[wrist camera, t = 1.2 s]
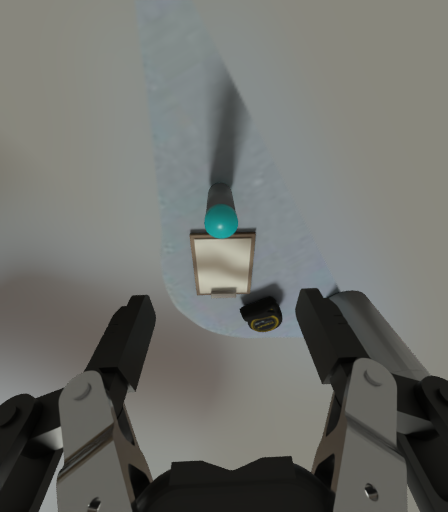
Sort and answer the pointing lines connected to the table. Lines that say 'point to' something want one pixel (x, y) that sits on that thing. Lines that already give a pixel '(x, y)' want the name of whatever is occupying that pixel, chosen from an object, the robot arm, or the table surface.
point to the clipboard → (223, 264)
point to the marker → (220, 212)
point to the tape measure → (262, 315)
